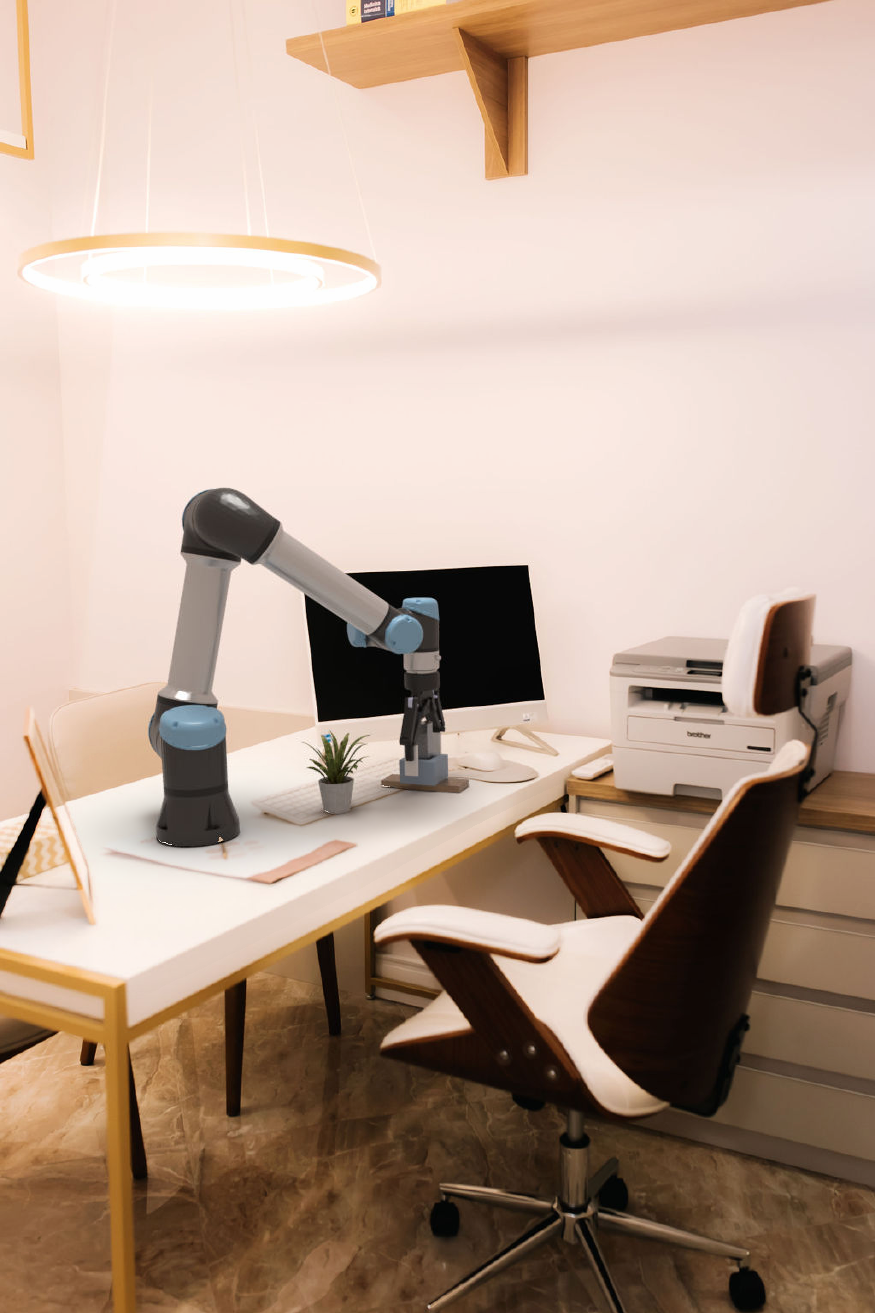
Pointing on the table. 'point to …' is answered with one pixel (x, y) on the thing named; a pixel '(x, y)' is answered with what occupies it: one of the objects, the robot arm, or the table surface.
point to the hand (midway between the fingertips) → (423, 768)
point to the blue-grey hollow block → (427, 771)
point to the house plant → (336, 775)
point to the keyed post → (426, 753)
